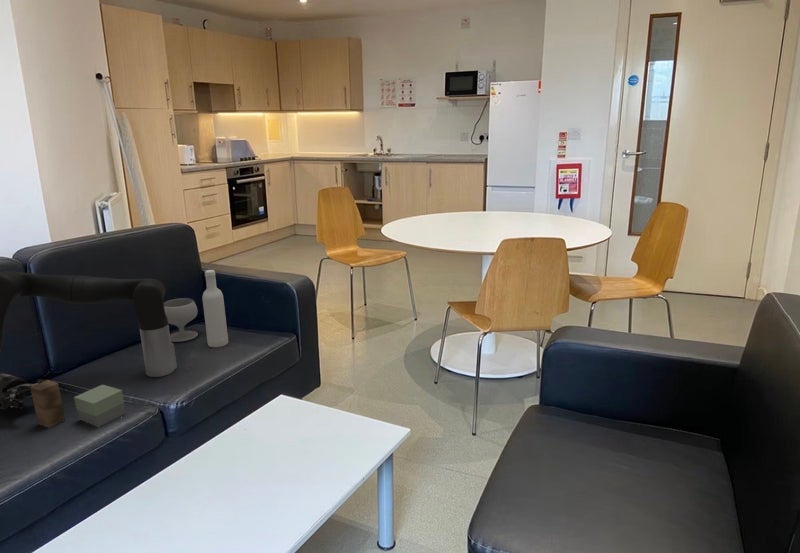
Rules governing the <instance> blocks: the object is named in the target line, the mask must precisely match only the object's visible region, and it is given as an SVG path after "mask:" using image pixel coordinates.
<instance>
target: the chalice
mask: <svg viewBox="0 0 800 553" xmlns="http://www.w3.org/2000/svg"><path fill="white" fill-rule="evenodd" d="M163 303H164V309H165V314H166V316H167V318H168V324H170V325H173V326H175V327H177V328H178V331H177V332H173V333H171V334H170V339H171V343H179V342H180V343H181V342H186V341H190V340H193V339H195V338H197V337H198V336H199V333H198V332H197V331H194V330H185V326H186V325H187V324H188V323H190V322H191V321H193V320H194V319H195V318H196V317H197V315H198V313H199V312H198V306H197V305H196V302H195V300H194V299H192V298H188V297H187V298H186V297H184V298H181V297H180V298H174V299H170V300H167V301H165V302H163Z"/></svg>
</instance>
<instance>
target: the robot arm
mask: <svg viewBox="0 0 800 553" xmlns="http://www.w3.org/2000/svg"><path fill="white" fill-rule="evenodd" d="M165 295H166V288H165V284H164V283H162V282H161V281H160V280H158V279H155V278H128V279H127V278H123V279H122V278H111V277H102V276H89V275H72V274H69V275H68V274H37V273H30V272H24V271H23V272H22V271H17V270H3V271H0V352H2V348H3V344H4V340H5V320H6V315H7V312H8V310H9V308H10V306H11V304H12V302H13V301H14V300H15V299H16V298H23V297H24V298H25V297H42V298H48V299H52V300H55V301H59V302H63V303H68V304H78V305H79V304H80V305H81V304H83V305H84V304H85V305H90V304H91V305H92V304H100V303H101V304H102V303H106V302H114V301H132V303H133V304H132V305H133V308H134V314H135V319H136V320H135V321H136V322H137V324H138V329H139V334H140V342H141V347H142V353H143V354H142V355H143V360H144V366H145V374H146V376H148V377H150V378H159V377H165V376H168V375H170V374H172V373H173V372H174V371H175V370H176V369H178V366H177V365H178V364H177V358H176V350H175V343H174V342H171V339H170V335H171V334H170V332H171V331H170V325H169V323H168V318H167V316H166V314H165V309H164V303H165V302H164V297H166V296H165ZM44 381H47V380H46V379H37V381H36V383H28V382H27V381H26V380H25V379H23V378H21V377H17V376H14V375H11V374H9V373H8V374H7V373H3V372H0V409H2V410H7V409H9V407H10V408H15V409H21V410H22V409H23V408H25V405H24V401H23V400H24V399H26V398H29V397H32V393H31V388H30V387H32V386H34V385H37V384H39V383H42V382H44Z"/></svg>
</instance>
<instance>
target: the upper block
mask: <svg viewBox="0 0 800 553" xmlns="http://www.w3.org/2000/svg"><path fill="white" fill-rule="evenodd" d="M123 394H124V393H123V390H122V389H118V388H116V387H112V386H109V385H106V384H101V385H99V386H96V387H94V388H91V389H90V390H87V391H84V392H83V393H80V394H79V395H75V396H73V398H74V404H75V409H76V411H77V410H79V411H82V412H85V413H88V414H91V415H94V416H98V415H100V414H102V413H104V412H106V411H108V410H110V409H112V408H114V407H116V406H118V405H120V404H122V403H124V404H125V401H124V396H123Z"/></svg>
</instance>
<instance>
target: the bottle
mask: <svg viewBox="0 0 800 553" xmlns="http://www.w3.org/2000/svg"><path fill="white" fill-rule="evenodd" d="M204 277H205V282H206V283H205V285H206V289H205V290H204V291H203V294H202V298H201V299H202V306H203V313H204V314H203V316H204V323H205V331H206V332H205V333H206V342H207V346H208V347H210V348H222V347H224V346H227V345H228V344H229V335H228V328H227V327H228V326H227V317H226V309H225V308H226V307H225V300H224V294H223V292H222V290H221V289H219V288H218V287H217V280H216V271H215V270H214V269H207V270H204Z"/></svg>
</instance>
